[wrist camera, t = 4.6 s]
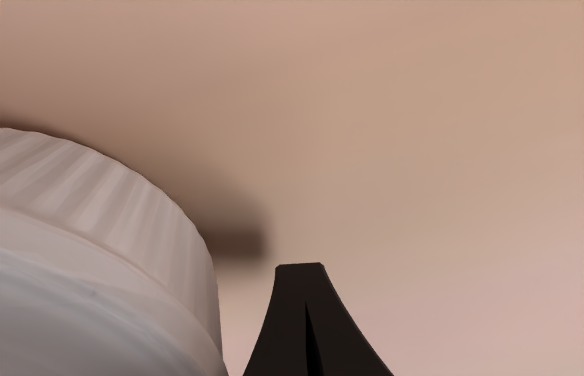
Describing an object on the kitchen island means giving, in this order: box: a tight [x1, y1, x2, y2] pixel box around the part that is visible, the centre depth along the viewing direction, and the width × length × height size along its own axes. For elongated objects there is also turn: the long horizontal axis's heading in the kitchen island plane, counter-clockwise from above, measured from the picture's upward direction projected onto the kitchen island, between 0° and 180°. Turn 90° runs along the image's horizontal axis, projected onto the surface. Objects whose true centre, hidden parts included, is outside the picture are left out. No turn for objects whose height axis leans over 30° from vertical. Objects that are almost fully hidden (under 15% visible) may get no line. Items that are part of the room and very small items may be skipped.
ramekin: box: [0, 128, 229, 376], centre depth 10 cm, size 11×11×5 cm
